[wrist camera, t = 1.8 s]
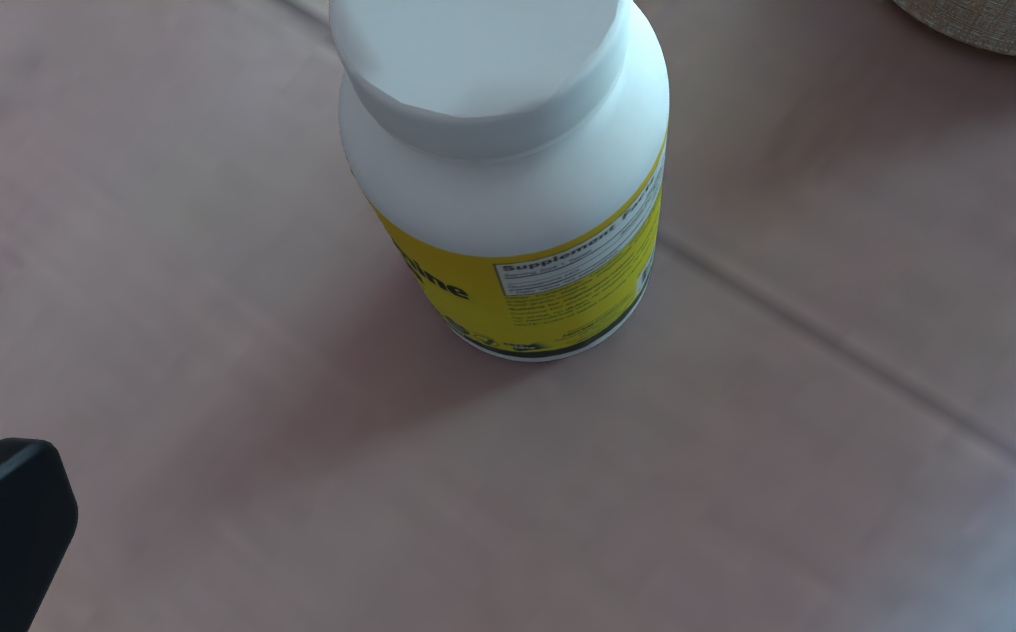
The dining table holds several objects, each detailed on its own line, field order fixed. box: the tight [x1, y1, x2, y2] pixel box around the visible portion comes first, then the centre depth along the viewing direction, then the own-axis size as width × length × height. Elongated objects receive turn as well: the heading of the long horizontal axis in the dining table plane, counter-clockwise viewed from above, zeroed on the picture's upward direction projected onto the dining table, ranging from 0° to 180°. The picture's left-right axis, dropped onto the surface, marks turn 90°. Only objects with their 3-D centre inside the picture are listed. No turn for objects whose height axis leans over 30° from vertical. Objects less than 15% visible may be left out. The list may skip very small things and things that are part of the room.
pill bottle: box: [329, 0, 669, 362], centre depth 19 cm, size 6×6×11 cm
